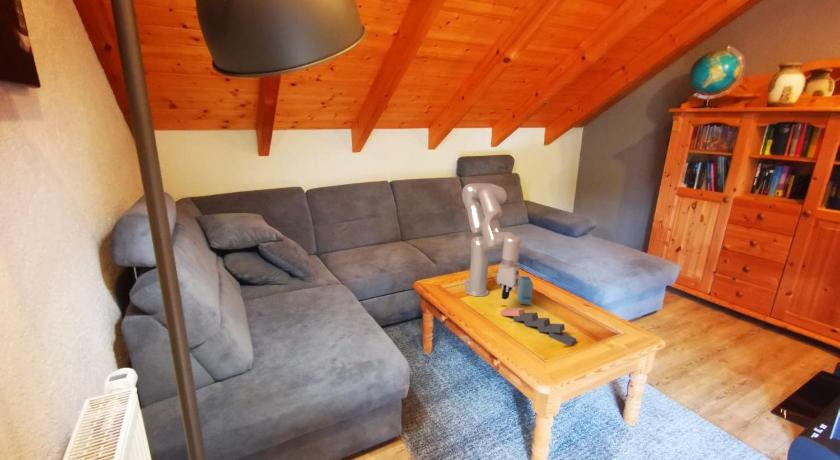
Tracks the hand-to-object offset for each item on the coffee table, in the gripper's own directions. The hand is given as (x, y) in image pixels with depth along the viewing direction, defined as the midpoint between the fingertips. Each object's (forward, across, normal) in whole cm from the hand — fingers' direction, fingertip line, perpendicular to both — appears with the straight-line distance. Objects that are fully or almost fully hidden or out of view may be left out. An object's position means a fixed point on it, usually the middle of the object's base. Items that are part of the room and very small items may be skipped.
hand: (505, 298), depth 192 cm
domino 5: (+7, -26, 0) cm, 27 cm away
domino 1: (+7, 0, 0) cm, 7 cm away
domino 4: (+7, -20, 0) cm, 21 cm away
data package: (+8, +2, -22) cm, 24 cm away
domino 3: (+7, -13, 0) cm, 15 cm away
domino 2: (+7, -7, 0) cm, 10 cm away
